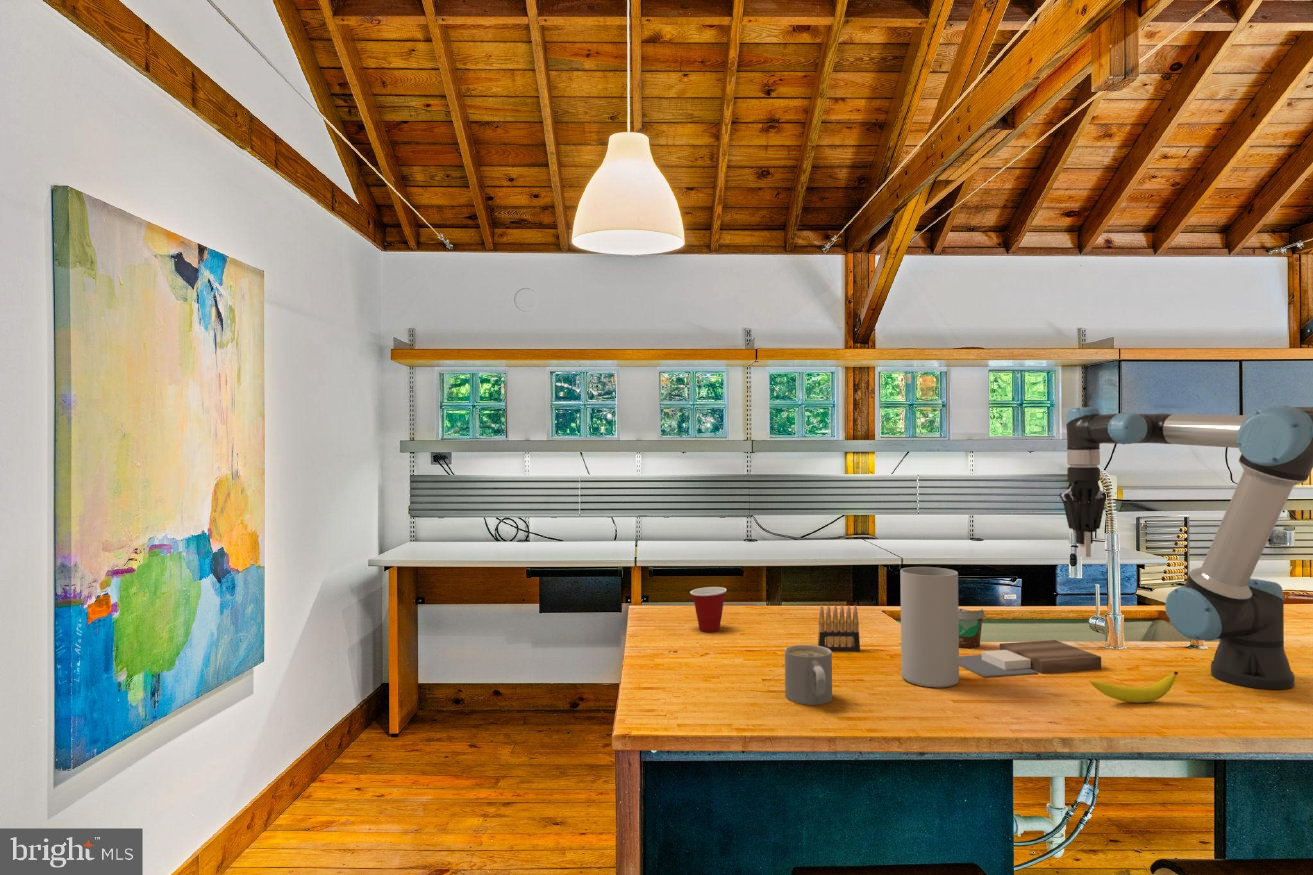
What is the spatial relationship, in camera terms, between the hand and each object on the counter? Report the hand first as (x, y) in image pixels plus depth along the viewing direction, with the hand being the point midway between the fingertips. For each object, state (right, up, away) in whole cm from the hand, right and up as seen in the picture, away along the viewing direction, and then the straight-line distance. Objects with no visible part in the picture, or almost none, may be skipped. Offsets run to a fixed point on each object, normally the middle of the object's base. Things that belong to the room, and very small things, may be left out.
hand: (1084, 556), depth 202 cm
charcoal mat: (-31, -25, -14) cm, 42 cm away
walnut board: (-15, -25, -11) cm, 31 cm away
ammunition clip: (-64, -25, +1) cm, 69 cm away
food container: (-31, -25, +4) cm, 40 cm away
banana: (-13, -25, -41) cm, 50 cm away
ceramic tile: (-27, -24, -13) cm, 38 cm away
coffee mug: (-79, -25, -37) cm, 91 cm away
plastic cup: (-97, -26, +25) cm, 103 cm away
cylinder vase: (-49, -25, -24) cm, 60 cm away
